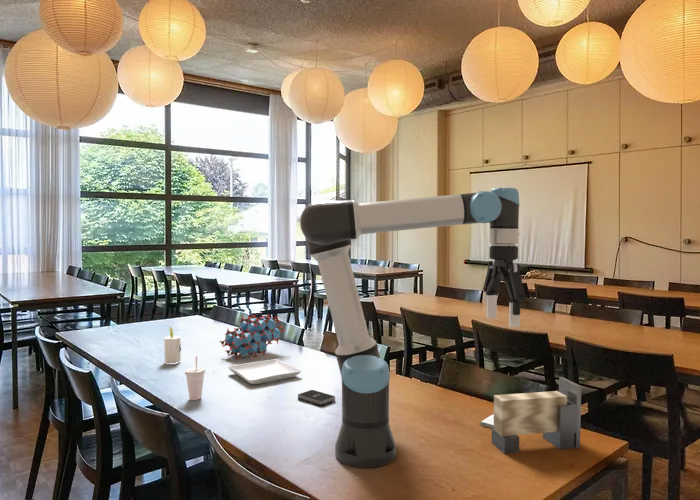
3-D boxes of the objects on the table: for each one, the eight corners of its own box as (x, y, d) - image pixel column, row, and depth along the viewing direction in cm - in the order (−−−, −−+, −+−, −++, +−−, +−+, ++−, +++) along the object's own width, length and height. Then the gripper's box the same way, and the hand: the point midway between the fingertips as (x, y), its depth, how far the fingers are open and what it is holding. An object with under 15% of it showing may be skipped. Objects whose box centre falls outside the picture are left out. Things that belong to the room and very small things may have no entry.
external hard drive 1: (312, 395, 175) (311, 389, 175) (336, 402, 167) (336, 396, 167) (297, 400, 169) (297, 394, 169) (321, 408, 162) (321, 402, 162)
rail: (501, 436, 130) (502, 400, 129) (493, 429, 134) (494, 395, 133) (566, 430, 133) (567, 396, 133) (556, 424, 137) (557, 390, 137)
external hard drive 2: (480, 427, 147) (498, 414, 157) (507, 434, 142) (525, 421, 151) (480, 421, 147) (498, 409, 157) (507, 428, 142) (525, 415, 151)
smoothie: (209, 398, 170) (208, 356, 169) (191, 403, 165) (191, 360, 165) (199, 394, 174) (198, 353, 174) (181, 398, 170) (180, 356, 169)
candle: (178, 364, 212) (177, 328, 211) (162, 364, 212) (161, 328, 212) (183, 360, 218) (182, 325, 218) (168, 360, 219) (167, 325, 218)
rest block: (504, 453, 129) (504, 438, 128) (491, 442, 135) (491, 427, 135) (519, 452, 129) (519, 436, 129) (505, 441, 136) (505, 426, 136)
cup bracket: (559, 449, 131) (561, 387, 130) (542, 437, 139) (543, 378, 138) (580, 447, 132) (581, 386, 131) (562, 435, 140) (563, 377, 139)
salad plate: (302, 378, 193) (302, 369, 193) (249, 389, 181) (249, 379, 181) (276, 366, 211) (276, 357, 210) (227, 374, 198) (227, 366, 198)
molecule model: (231, 343, 212) (273, 305, 226) (214, 338, 222) (255, 302, 236) (250, 372, 218) (289, 334, 233) (232, 366, 229) (271, 329, 243)
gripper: (540, 246, 129) (539, 330, 130) (496, 243, 154) (494, 314, 155) (512, 246, 128) (511, 331, 129) (472, 243, 152) (471, 314, 153)
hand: (502, 322), depth 142 cm, fingers open, 13 cm apart
